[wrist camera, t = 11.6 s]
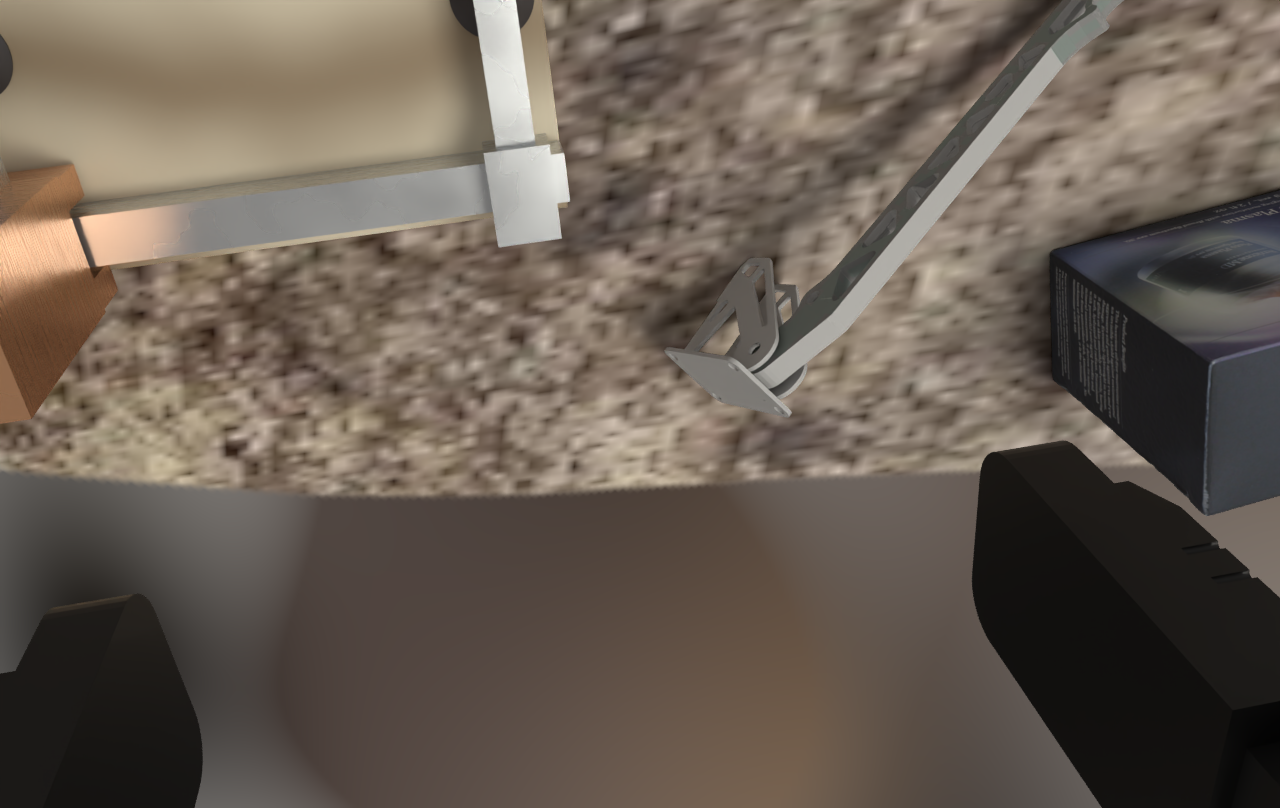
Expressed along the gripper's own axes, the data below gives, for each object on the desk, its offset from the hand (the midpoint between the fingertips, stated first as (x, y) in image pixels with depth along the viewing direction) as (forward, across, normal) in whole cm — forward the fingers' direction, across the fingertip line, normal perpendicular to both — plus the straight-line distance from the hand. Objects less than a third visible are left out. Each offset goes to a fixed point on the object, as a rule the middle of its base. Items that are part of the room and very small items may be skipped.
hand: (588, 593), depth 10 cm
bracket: (+28, -15, +4) cm, 32 cm away
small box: (+28, -26, +12) cm, 40 cm away
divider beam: (+27, +8, +1) cm, 28 cm away
